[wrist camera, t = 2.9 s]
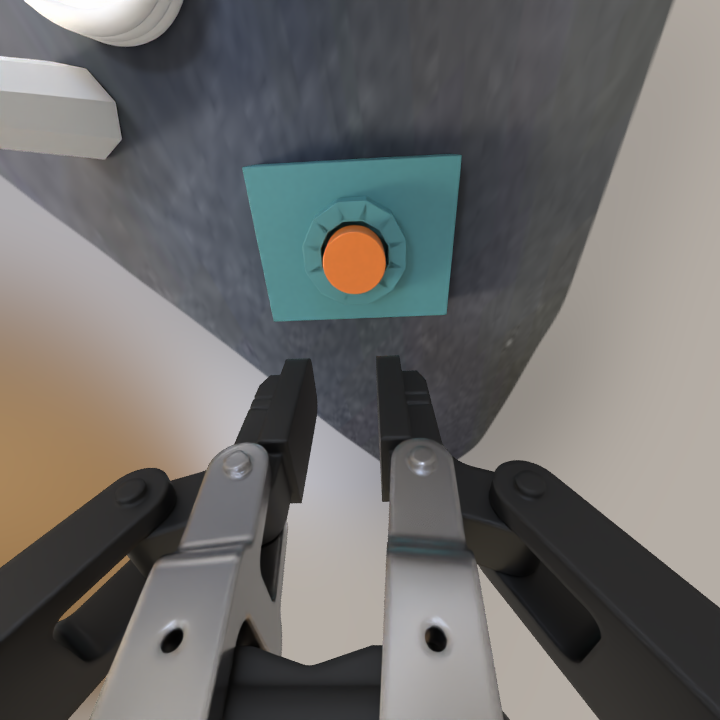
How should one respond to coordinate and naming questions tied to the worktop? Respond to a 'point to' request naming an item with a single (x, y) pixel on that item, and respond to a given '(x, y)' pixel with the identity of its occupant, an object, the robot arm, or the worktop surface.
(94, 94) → the pepper shaker
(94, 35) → the white round stack
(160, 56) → the worktop surface
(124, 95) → the worktop surface
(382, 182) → the button base
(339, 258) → the orange button cap
